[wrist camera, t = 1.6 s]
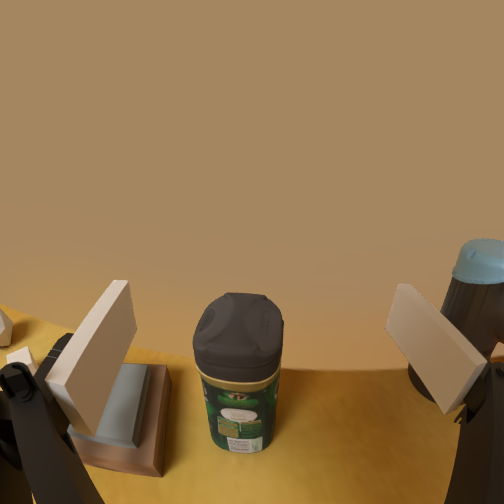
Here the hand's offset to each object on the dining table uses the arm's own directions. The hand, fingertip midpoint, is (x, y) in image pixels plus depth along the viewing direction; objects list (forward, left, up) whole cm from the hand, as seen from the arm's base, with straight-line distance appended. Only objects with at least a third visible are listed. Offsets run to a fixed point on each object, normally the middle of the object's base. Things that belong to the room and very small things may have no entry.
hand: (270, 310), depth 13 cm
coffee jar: (+1, -9, -25) cm, 27 cm away
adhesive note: (+37, -14, -25) cm, 47 cm away
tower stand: (+19, -9, -25) cm, 33 cm away
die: (+51, -22, -25) cm, 61 cm away
